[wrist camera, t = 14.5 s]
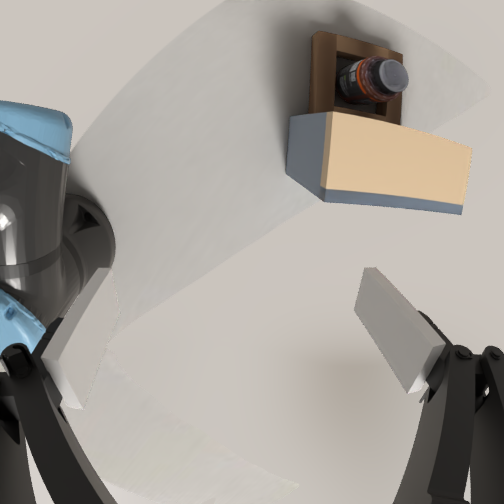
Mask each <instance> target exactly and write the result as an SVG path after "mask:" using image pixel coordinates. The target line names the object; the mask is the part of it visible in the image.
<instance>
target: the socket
mask: <svg viewBox="0 0 504 504" xmlns="http://www.w3.org/2000/svg"><path fill="white" fill-rule="evenodd" d="M371 56H382V57H385V58H387V59H393V60H396V61H398V62H399V63H401V64H402V65H403V54H400V53H397V52H395V51H392V50H389V49H386V48H383V47H380V46H377V45H373V44H370V43H367V42H363V41H360V40H356V39H353V38H349V37H345V36H341V35H337V34H332V33H328V32H323V31H318V32H317V33H316V34H314V35H313V36H312V49H311V73H310V92H309V108H308V114H314V113H323V112H339V113H344V114H350V115H355V116H360V117H365V118H370V119H375V120H379V121H384V122H388V123H392V124H396V125H400V118H401V102H402V92H401V93H400V94H399V96H398V97H396V98H395V99H394V100H392V101H388V102H380V103H377V106H376V114H372V113H368V112H363V111H358V110H353V109H348V108H343V107H337V106H334V99H335V80H336V57H340V58H344V59H349V60H353V61H357V62H358V61H361V60H363V59H366V58H368V57H371Z"/></svg>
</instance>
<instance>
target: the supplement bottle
mask: <svg viewBox="0 0 504 504" xmlns="http://www.w3.org/2000/svg"><path fill="white" fill-rule="evenodd" d="M408 80H409V79H408V74H407V71H406V69H405V68H404V66H403V65H402V64H401V63H399V62H398V61H396V60H393V59H387V58H385V57H382V56H371V57H368V58H366V59H363V60H361V61H358V62H356V63H353V64H351V65H349V66H346V67H344V68H343V69H341V70H340V71H339V72H338V74H337V75H336V80H335V86H336V90H337V92H338V94H339V95H340V96H341V98H342V99H344V100H345V101H346V102H348V103H350V104H354V105H362V104H370V103H380V102H388V101H392V100H394V99H395V98H396V97H398V96H399V94H400V93H401V92H402V91H403V90H405V89H406V87H407V85H408Z"/></svg>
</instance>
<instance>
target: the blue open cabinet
mask: <svg viewBox="0 0 504 504" xmlns="http://www.w3.org/2000/svg"><path fill="white" fill-rule="evenodd" d="M471 155H472V148H470V147H468V146H465V145H462V144H459V143H456V142H454V141H450V140H448V139H445V138H441V137H438V136H435V135H432V134H429V133H425V132H422V131H418V130H415V129H411V128H408V127H404V126H400V125H396V124H392V123H388V122H384V121H379V120H375V119H370V118H365V117H360V116H355V115H350V114H344V113H339V112H323V113H314V114H305V115H298V116H290V123H289V137H288V151H287V165H286V174H287V175H288V176H290V177H291V178H292V179H294V180H295V181H296V182H298V183H299V184H301V185H302V186H303V187H305V188H306V189H307V190H309V191H310V192H311V193H313V194H314V195H315V196H317V197H318V198H319V199H321V200H322V201H323V202H330V203H345V204H360V205H372V206H383V207H394V208H405V209H414V210H424V211H433V212H441V213H450V214H457V215H461V214H462V209H463V204H464V199H465V194H466V188H467V183H468V177H469V170H470V163H471Z"/></svg>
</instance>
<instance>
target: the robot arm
mask: <svg viewBox="0 0 504 504" xmlns="http://www.w3.org/2000/svg"><path fill="white" fill-rule="evenodd" d="M72 130H73V126H72V122H71V120H70V118H69V117H68V116H67V115H66V114H65V113H63V112H60V111H57V110H52V109H48V108H43V107H39V106H33V105H28V104H22V103H15V102H9V101H1V100H0V362H1V363H2V365H3V367H4V369H5V370H6V372H0V504H36V501H35V496H34V492H33V487H32V482H31V477H30V471H29V465H28V458H27V450H26V441H25V437H26V440H27V442H28V445H29V448H30V450H31V453H32V456H33V458H34V461H35V463H36V465H37V468H38V470H39V473H40V475H41V477H42V479H43V482H44V484H45V486H46V488H47V490H48V492H49V494H50V496H51V498H52V500H53V502H54V503H55V504H117V503H116V501H115V500H114V498H113V497H112V495H111V494H110V493H109V491H108V490H107V488H106V487H105V485H104V484H103V482H102V481H101V479H100V478H99V476H98V475H97V473H96V471H95V470H94V468H93V467H92V465H91V463H90V462H89V460H88V458H87V457H86V455H85V453H84V451H83V450H82V448H81V446H80V444H79V442H78V440H77V438H76V437H75V435H74V433H73V431H72V429H71V427H70V425H69V423H68V421H67V419H66V416H65V414H64V412H63V410H62V408H61V407H60V403H61V400H62V398H63V400H64V401H65V403H66V405H67V406H68V407H71V408H76V409H81V410H84V408H85V405H86V402H87V399H88V396H89V393H90V390H91V387H92V385H93V382H94V379H95V376H96V373H97V371H98V368H99V365H100V363H101V360H102V357H103V355H104V352H105V350H106V347H107V345H108V342H109V340H110V337H111V335H112V332H113V330H114V327H115V325H116V323H117V320H118V318H119V316H120V308H119V304H118V299H117V294H116V289H115V284H114V278H113V273H112V268H111V266H112V264H113V261H114V257H115V238H114V234H113V231H112V228H111V226H110V223H109V221H108V220H107V218H106V216H105V215H104V214H103V212H102V211H101V210H100V209H99V208H98V207H97V206H96V205H95V204H94V203H92V202H91V201H89V200H88V199H86V198H84V197H81V196H78V195H73V194H65V190H66V182H67V174H68V167H69V164H70V163H71V159H70V157H69V156H70V145H71V138H72ZM79 294H80V295H79ZM78 295H79V296H78ZM77 296H78V298H77ZM76 298H77V299H76ZM75 299H76V301H75ZM74 301H75V302H74ZM73 302H74V304H73ZM72 304H73V305H72ZM71 306H72V307H71ZM70 307H71V308H70ZM69 309H70V310H69ZM68 310H69V311H68ZM354 311H355V313H356V314H357V316H358V317H359V319H360V320H361V322H362V323H363V325H364V326H365V328H366V329H367V331H368V332H369V334H370V335H371V337H372V338H373V340H374V341H375V343H376V345H377V346H378V348H379V349H380V351H381V352H382V354H383V356H384V357H385V359H386V360H387V362H388V364H389V365H390V367H391V368H392V370H393V371H394V373H395V375H396V377H397V378H398V380H399V381H400V383H401V385H402V386H403V388H404V390H405V391H406V393H407V394H409V393H412V392H415V391H419V390H420V389H421V388H422V386H423V384H424V383H425V381H426V382H427V383H428V384H429V387H428V389H427V390H426V392H425V393H424V395H423V396H422V398H421V399H420V402H419V403H421V402H422V401H423V399H424V405H423V409H422V414H421V418H420V422H419V426H418V430H417V434H416V438H415V441H414V445H413V448H412V452H411V455H410V458H409V461H408V464H407V467H406V470H405V474H404V476H403V479H402V482H401V484H400V487H399V490H398V492H397V495H396V497H395V500H394V502H393V504H470V503H469V502H468V501H465V500H464V492H465V487H466V482H467V477H468V471H469V465H470V480H471V504H504V354H503V352H502V351H501V350H500V349H499V348H497V347H494V346H487V347H486V348H485V350H484V351H483V353H482V355H475V354H473V353H472V352H471V351H470V350H469V349H468V348H467V347H464V346H461V345H453V344H452V343H451V342H450V341H449V340H448V339H447V337H446V336H445V335H444V334H443V333H442V332H441V331H440V330H439V329H438V327H437V326H436V325H435V324H433V322H432V320H431V319H430V318H429V317H428V316H427V315H425V314H424V313H422V312H421V311H417V310H416V309H415V308H414V307H413V306H412V304H411V303H409V301H408V300H407V299H406V298H405V297H404V296H403V295H402V294H401V293H400V292H399V291H398V290H397V288H396V287H395V286H394V285H393V284H392V283H391V282H390V281H389V280H388V279H387V278H386V277H385V276H384V275H383V274H382V273H381V272H380V271H379V270H378V269H377V268H364V272H363V276H362V280H361V284H360V288H359V292H358V296H357V300H356V304H355V307H354ZM67 312H68V313H67ZM66 313H67V314H66ZM65 315H66V316H65ZM64 316H65V318H64ZM488 387H489V393H488V395H487V396H486V394H485V391H486V389H487V388H488Z"/></svg>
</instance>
